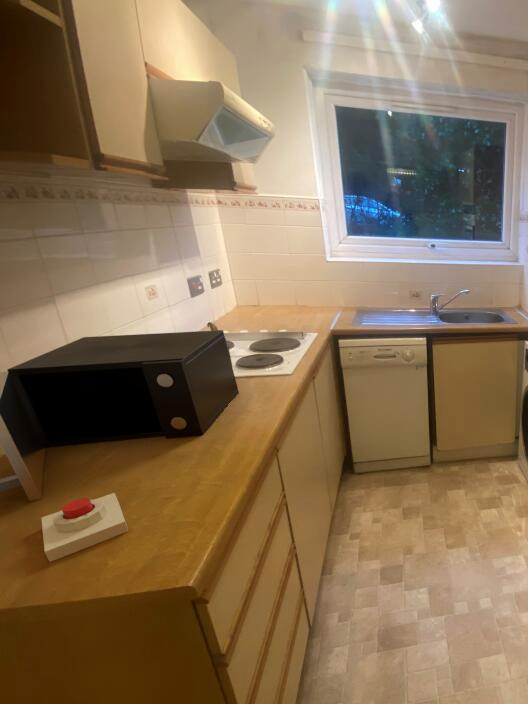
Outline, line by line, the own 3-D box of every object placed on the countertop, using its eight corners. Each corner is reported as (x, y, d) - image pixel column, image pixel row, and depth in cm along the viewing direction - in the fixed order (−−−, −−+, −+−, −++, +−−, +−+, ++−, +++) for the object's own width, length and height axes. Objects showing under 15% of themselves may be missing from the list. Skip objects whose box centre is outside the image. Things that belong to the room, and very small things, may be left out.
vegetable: (236, 377, 145) (221, 319, 138) (237, 381, 142) (222, 321, 134) (220, 379, 143) (205, 320, 136) (221, 384, 140) (204, 323, 132)
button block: (46, 527, 78) (36, 509, 76) (118, 501, 84) (111, 484, 83) (49, 562, 70) (39, 543, 69) (129, 531, 77) (121, 513, 75)
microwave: (201, 437, 108) (179, 361, 100) (36, 453, 100) (-3, 373, 93) (239, 393, 133) (223, 330, 126) (109, 403, 126) (83, 337, 118)
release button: (64, 513, 76) (60, 504, 75) (92, 503, 78) (88, 495, 78) (66, 522, 73) (62, 514, 73) (94, 512, 76) (91, 504, 75)
